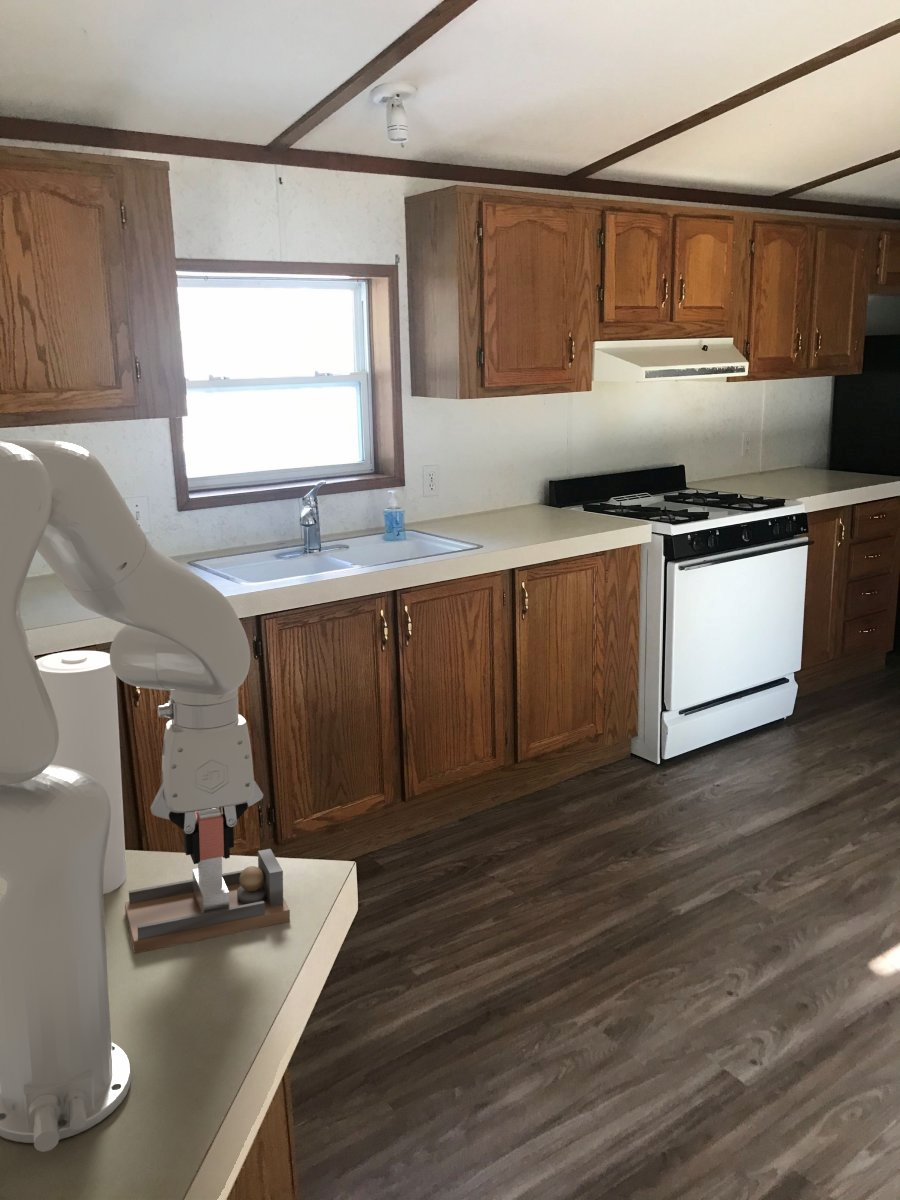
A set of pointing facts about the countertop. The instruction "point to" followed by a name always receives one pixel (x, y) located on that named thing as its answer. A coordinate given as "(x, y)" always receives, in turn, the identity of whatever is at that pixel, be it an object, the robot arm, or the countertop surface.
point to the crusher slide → (210, 862)
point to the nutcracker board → (179, 920)
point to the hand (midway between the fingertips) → (209, 854)
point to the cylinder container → (90, 736)
